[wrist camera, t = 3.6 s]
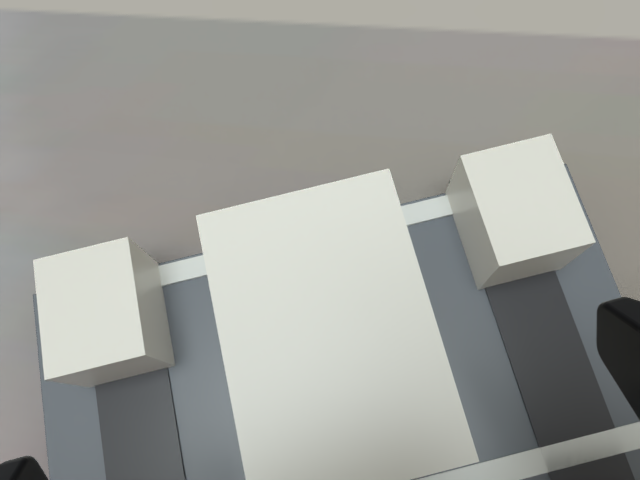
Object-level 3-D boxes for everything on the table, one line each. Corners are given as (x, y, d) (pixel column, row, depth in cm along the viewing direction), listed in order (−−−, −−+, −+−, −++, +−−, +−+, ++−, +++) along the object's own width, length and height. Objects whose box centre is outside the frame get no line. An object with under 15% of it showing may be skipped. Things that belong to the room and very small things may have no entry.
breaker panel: (751, 690, 15) (892, 781, 11) (115, 864, 14) (29, 1024, 10) (546, 175, 19) (595, 111, 15) (56, 295, 19) (-20, 261, 15)
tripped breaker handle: (429, 449, 15) (517, 471, 7) (290, 485, 15) (224, 547, 7) (382, 285, 16) (412, 149, 8) (255, 317, 16) (166, 209, 8)
